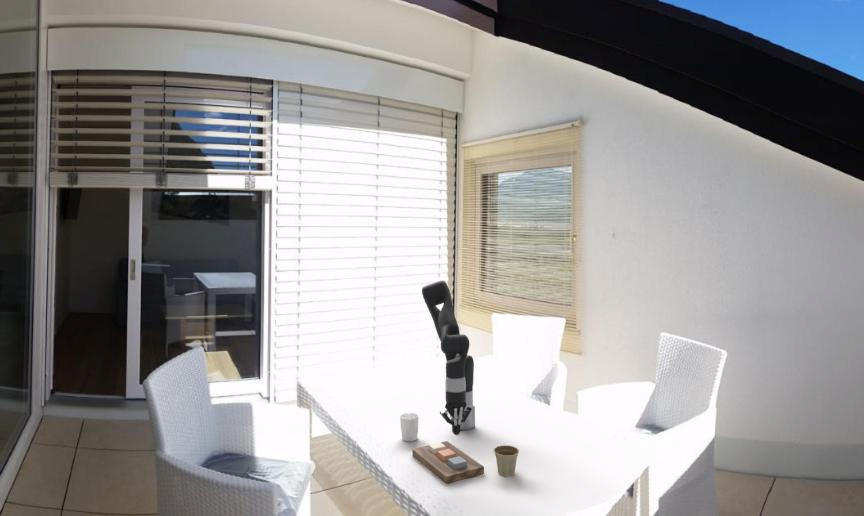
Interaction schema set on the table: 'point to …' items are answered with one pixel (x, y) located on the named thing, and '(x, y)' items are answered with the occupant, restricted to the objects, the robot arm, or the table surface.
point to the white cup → (409, 426)
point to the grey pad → (457, 463)
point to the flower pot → (506, 459)
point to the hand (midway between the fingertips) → (456, 434)
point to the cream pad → (436, 447)
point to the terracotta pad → (446, 455)
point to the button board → (442, 467)
